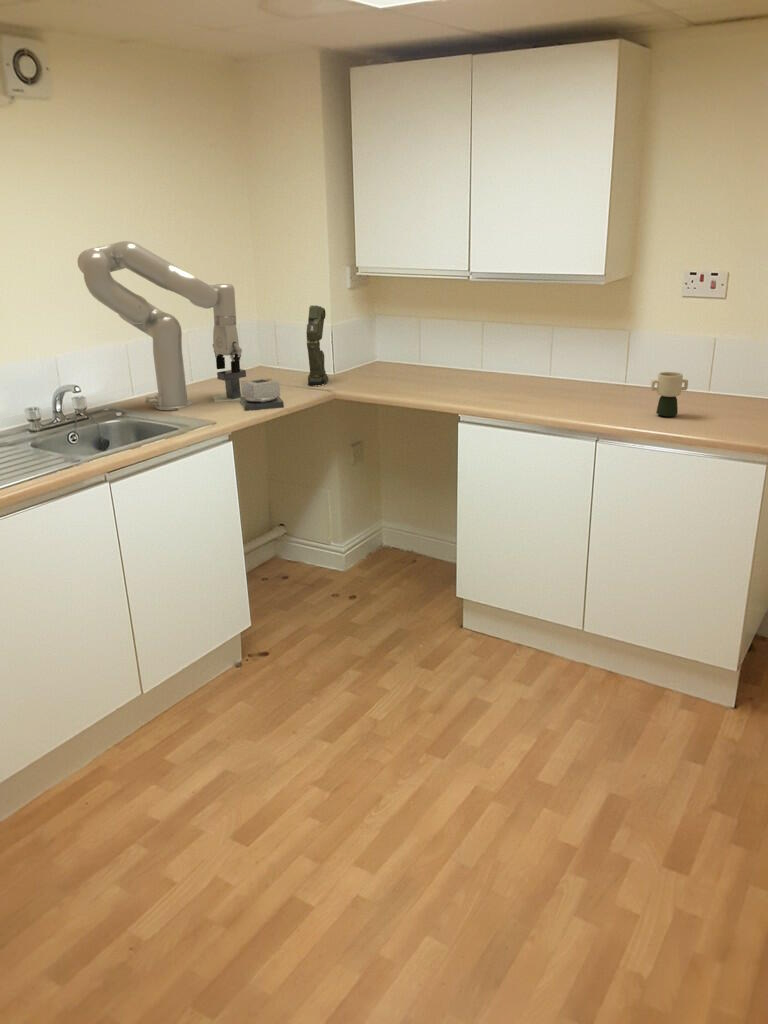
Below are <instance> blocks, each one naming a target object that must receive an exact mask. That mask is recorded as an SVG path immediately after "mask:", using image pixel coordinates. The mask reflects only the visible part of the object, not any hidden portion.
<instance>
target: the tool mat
mask: <svg viewBox="0 0 768 1024" xmlns="http://www.w3.org/2000/svg"><path fill="white" fill-rule="evenodd" d="M212 397H213V398H212V399H213V400H214V402H215V403H221V402H234V401H236V402H237V401H240V398H235V399H230V398H227V395H224V394H223V395H214V396H213V395H212ZM241 397H245V396H242V393H241Z"/></svg>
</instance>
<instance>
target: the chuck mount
mask: <svg viewBox="0 0 768 1024" xmlns="http://www.w3.org/2000/svg"><path fill="white" fill-rule="evenodd" d="M239 401H240V403H241V405H242V406H243V408H244V411H245V412H248V411H249V412H250V410H251V411H260V410H272V409H282V408H283V409H284V407H285V405H284V400H283V399H282V398H281V396H277V399H275V400H272V401H267V402H249V401H246V400H245V397H240V400H239Z"/></svg>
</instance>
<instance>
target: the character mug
mask: <svg viewBox="0 0 768 1024" xmlns="http://www.w3.org/2000/svg"><path fill="white" fill-rule="evenodd" d="M683 377H684V375H683V373H680V372H677V371H664V372H659V373H658V375H657V379H652V380H651V382H650V383H651V386H650V389H651V391H652V392H656V393H657V395H659V396H660V397H659V398H658V399H659V400H658V402H657V403H658V404H657V406H656V407H657V409H656V415H660V416H661V417H663V416H664V417H675V416H677V415H678V414H679V413H678V412H679V411H678V398H677V397H679V396H681V395H682V391H687V390H688V386H689V380H688V379H683ZM656 384H657V386H656V387H655V385H656ZM683 384H684V386H682V385H683Z"/></svg>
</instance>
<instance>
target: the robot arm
mask: <svg viewBox="0 0 768 1024" xmlns="http://www.w3.org/2000/svg"><path fill="white" fill-rule="evenodd" d="M77 266H78V269H79V270H80V272H81V273H83V280H84V283H85V286H86V288H87V291H88V292H89V293H90V294H91V296H92V297H93V298H94V299H95V300H97V301H98V302H100V303H101V304H102V305H104V306H105V307H107V308H108V309H110V310H111V311H113V312H114V313H117V314H118V317H120V318H121V319H122V320H123V321H124V322H126V323H127V324H130V325H131V326H132V327H134V328H136V329H138V330H139V331H141V332H143V333H144V334H146V335H147V336H149V337H151V338H152V355H153V362H154V368H155V369H154V370H155V378H156V385H157V386H156V387H157V395H154V396H146V397H145V398H144V399H145V403H146V404H155V405H154V408H155V409H156V410H157V411H158V410H159V411H178V410H180V409H184V408H185V409H186V408H189V407H190V406H193V405H194V404H193V401H192V400H190V399H188V392H187V391H188V390H187V382H186V374H185V365H184V357H183V347H182V345H183V344H182V342H183V339H182V338H183V335H182V334H183V332H182V327H181V324H180V321H179V320H178V319H177V317H175V316H174V315H172V314H170V313H167V312H165V311H162V310H161V309H160V308H158V307H156V306H154V305H153V304H152V303H150V302H148V301H147V299H146V298H144V297H143V296H141V295H139V294H137V293H135V292H133V291H132V290H130V289H128V288H127V287H126V286H124V285H123V284H121V283H119V282H118V281H117V280H116V279H115V278H114V277H113V276H112V272H116V271H121V270H123V269H127V270H129V271H130V272H131V273H134V274H136V275H138V276H139V277H141V278H143V279H145V280H147V281H149V282H150V283H152V284H153V285H155V286H157V287H159V288H162V289H164V290H167V291H170V292H172V293H175V294H177V295H179V296H181V297H183V298H185V299H187V300H189V302H190V303H191V305H194V306H196V307H197V308H198V307H199V308H202V309H211V308H213V309H212V310H213V324H214V325H213V331H212V333H213V334H212V341H213V343H212V348H213V352H214V358H215V363H216V370H224V369H226V360H225V356H229V358H230V360H231V361H230V370H231V372H232V373H237V372H240V369H241V364H240V361H241V357H242V351H243V350H242V348H241V347H240V341H239V334H238V328H237V311H236V309H237V308H236V294H235V293H236V292H235V287H234V285H233V284H230V283H216V284H208V283H206V282H204V281H203V280H202V279H199V278H197V276H194V275H192V274H190V273H188V272H187V271H185V270H183V269H181V268H180V267H178V266H177V265H175V264H173V263H171V262H170V261H168V260H166V259H164V258H163V257H161V256H159V255H157V254H155V253H153V252H152V251H151V250H149V249H147V248H145V247H143V246H141V244H139V243H136V242H133V241H130V240H129V241H128V240H123V241H118V242H113V243H111V244H106V245H101V246H97V247H93V248H88V249H84V250H83V251H81V253H80V254H79V255H78V257H77Z"/></svg>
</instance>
